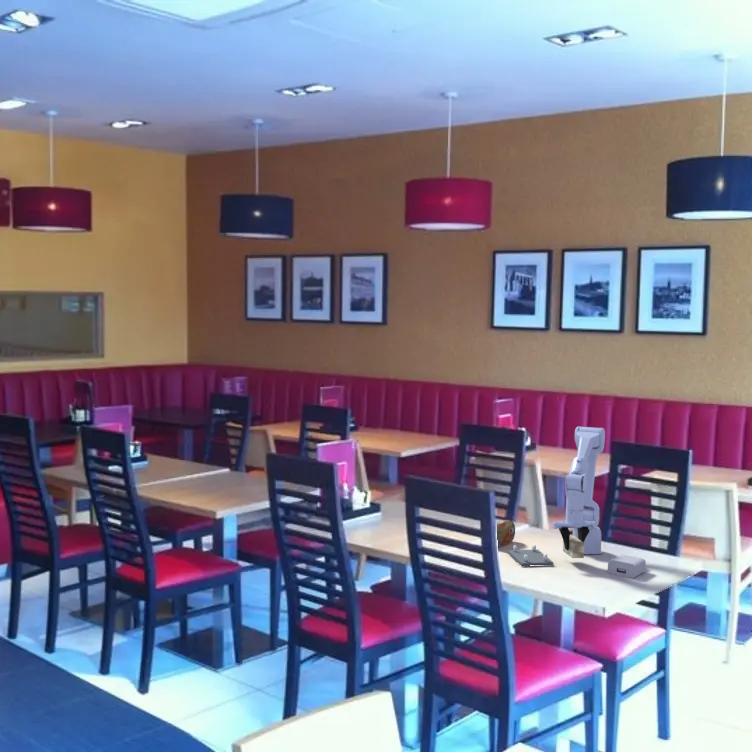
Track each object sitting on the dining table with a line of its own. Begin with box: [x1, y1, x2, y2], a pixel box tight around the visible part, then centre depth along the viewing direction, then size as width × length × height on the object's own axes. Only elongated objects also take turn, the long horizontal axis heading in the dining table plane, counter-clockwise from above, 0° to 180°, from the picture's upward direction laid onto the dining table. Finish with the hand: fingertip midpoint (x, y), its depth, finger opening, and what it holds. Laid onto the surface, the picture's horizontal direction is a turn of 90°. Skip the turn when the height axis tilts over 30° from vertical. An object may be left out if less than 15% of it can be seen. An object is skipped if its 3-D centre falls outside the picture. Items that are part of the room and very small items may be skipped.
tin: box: [496, 519, 516, 548], centre depth 334 cm, size 15×3×8 cm, turn 143°
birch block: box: [562, 535, 585, 559], centre depth 311 cm, size 4×9×5 cm, turn 9°
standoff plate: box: [506, 544, 554, 567], centre depth 315 cm, size 11×16×3 cm
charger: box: [607, 554, 647, 579], centre depth 305 cm, size 5×9×15 cm
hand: (573, 549), depth 311 cm, fingers closed on birch block, 4 cm apart
